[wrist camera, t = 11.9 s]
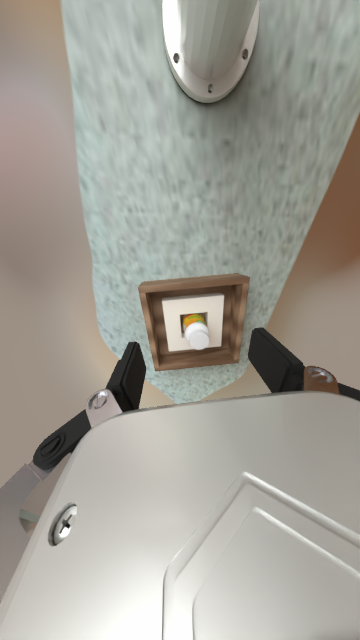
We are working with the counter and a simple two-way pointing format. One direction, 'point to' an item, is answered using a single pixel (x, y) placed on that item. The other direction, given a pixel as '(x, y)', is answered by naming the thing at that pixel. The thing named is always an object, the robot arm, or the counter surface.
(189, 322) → the supplement bottle
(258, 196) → the counter surface
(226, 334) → the open box
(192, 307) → the socket plate
